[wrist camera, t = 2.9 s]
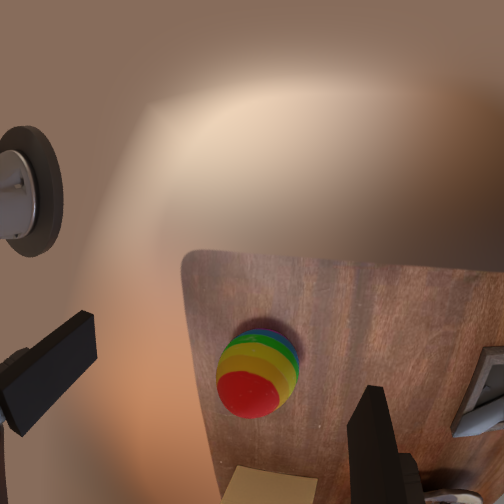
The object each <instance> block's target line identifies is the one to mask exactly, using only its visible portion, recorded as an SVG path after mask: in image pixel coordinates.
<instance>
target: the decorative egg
mask: <svg viewBox="0 0 504 504" xmlns="http://www.w3.org/2000/svg"><path fill="white" fill-rule="evenodd" d="M298 375H299V360H298V356H297V353H296V350H295V348H294V347H293V345H292V344H291V342H290V341H289V340H288V339H287V338H286V337H285V336H283V335H282V334H280V333H278V332H276V331H274V330H270V329H263V328H259V329H252V330H249V331H246V332H244V333H242V334H240V335H238V336H237V337H236V338H234V339H233V340H232V341H231V342H230V343H229V344H228V345H227V347H226V348H225V350H224V351H223V353H222V355H221V357H220V360H219V363H218V367H217V373H216V385H217V390H218V394H219V397H220V399H221V401H222V403H223V404H224V406H225V407H226V408H227V409H228V410H229V411H230V412H231V413H233V414H234V415H236V416H239V417H242V418H248V419H251V418H258V417H262V416H265V415H267V414H270V413H272V412H273V411H275V410H276V409H278V408H279V407H280V406H281V405H282V404H283V403H284V402H285V401H286V400H287V399H288V398H289V396H290V395H291V393H292V391H293V390H294V388H295V385H296V383H297V379H298Z"/></svg>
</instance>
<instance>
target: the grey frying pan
mask: <svg viewBox="0 0 504 504" xmlns="http://www.w3.org/2000/svg"><path fill="white" fill-rule="evenodd" d="M423 493H424V498H425V501H433V502H434V501H442V502H441V503H440V504H450V503H447V502H458V503H467V504H482V502H483V499H482V497H481V495H480V494H478V493H476V492H473V491H469V490H462V489H440V490H436V491H429V492H423ZM444 501H445V502H444ZM432 504H433V503H432Z"/></svg>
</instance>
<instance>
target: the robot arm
mask: <svg viewBox="0 0 504 504" xmlns="http://www.w3.org/2000/svg"><path fill="white" fill-rule="evenodd" d="M39 208H40V195H39V186H38V181H37V176H36V173H35V170H34V167H33V165H32V163H31V161H30V159H29V158H28V156H27V155H26V154H25V153H24V152H23V151H21V150H18V149H13V150H7V151H5V152H2V153H1V154H0V239H20V238H23V237H25V236H28V235H29V234H31V233H32V232H33V230H34V228H35V226H36V224H37V221H38V216H39ZM96 359H97V349H96V338H95V326H94V315H93V314H91V313H89V312H86V311H83V310H81V311H80V312H78V313H77V314H76V315H74V316H73V317H72V318H70V319H69V320H68V321H66V322H65V323H64V324H62V325H61V326H60V327H58V328H57V329H56V330H55V331H53V332H52V333H50V334H49V335H48V336H47V337H45V338H44V339H43V340H41V341H40V342H39V343H37V344H36V345H35V346H34V347H33V348H31V349H29V348H27V347H26V348H23V349H21V350H18V351H16V352H15V353H14V354H12V355H11V356H10V357H9V358H7V359H6V360H5V361H4V362H3V363H1V364H0V504H8V498H7V488H6V477H5V463H4V427H3V424H2V423H3V422H4V421H5V420H6V421H7V423H8V425H9V427H10V429H12V430H13V431H14V432H16V433H17V434H19V435H20V436H21V437H23V436H24V435H25V434H26V432H28V430H30V428H31V427H32V426H33V425H34V424H35V423H36V422H37V421H38V420H39V419H40V417H42V416H43V414H44V413H45V412H46V411H47V410H48V409H49V408H50V407H51V406H52V405H53V404H54V403H55V402H56V401H57V400H58V399H59V397H61V395H62V394H63V393H64V392H65V391H66V390H67V389H68V388H69V387H70V386H71V385H72V384H73V383H74V382H75V381H76V380H77V379H78V378H79V377H80V376H81V375H82V374H83V373H84V372H85V370H86V369H88V367H89V366H91V364H92V363H93V362H94V361H95V360H96ZM347 436H348V450H349V465H350V485H351V504H426V503H425V498H424V493H423V489H422V484H421V483H420V481H421V480H420V475H418V474H419V471H418V467H417V463H416V461H415V460H414V458H413V457H412V455H411V454H410V453H398V449H397V444H396V440H395V435H394V431H393V426H392V422H391V418H390V414H389V409H388V405H387V401H386V397H385V393H384V390H383V387H379V386H371V385H367V387H366V389H365V391H364V393H363V395H362V397H361V399H360V401H359V403H358V405H357V407H356V409H355V411H354V413H353V415H352V417H351V418H350V420H349V422H348V424H347Z"/></svg>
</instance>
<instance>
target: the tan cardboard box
mask: <svg viewBox="0 0 504 504" xmlns="http://www.w3.org/2000/svg"><path fill="white" fill-rule="evenodd" d="M317 481H318V479H316V478H307V477H300V476H292V475H286V474H280V473H274V472H268V471H263V470H258V469H253V468H248V467H243V466H239V465H237V467H236V470H235V472H234V474H233V476H232V479H231V481H230V483H229V485H228V487H227V490H226V492H225V494H224V496H223V498H222V500H221V503H220V504H312V503H313V499H314V494H315V490H316V485H317Z"/></svg>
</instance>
